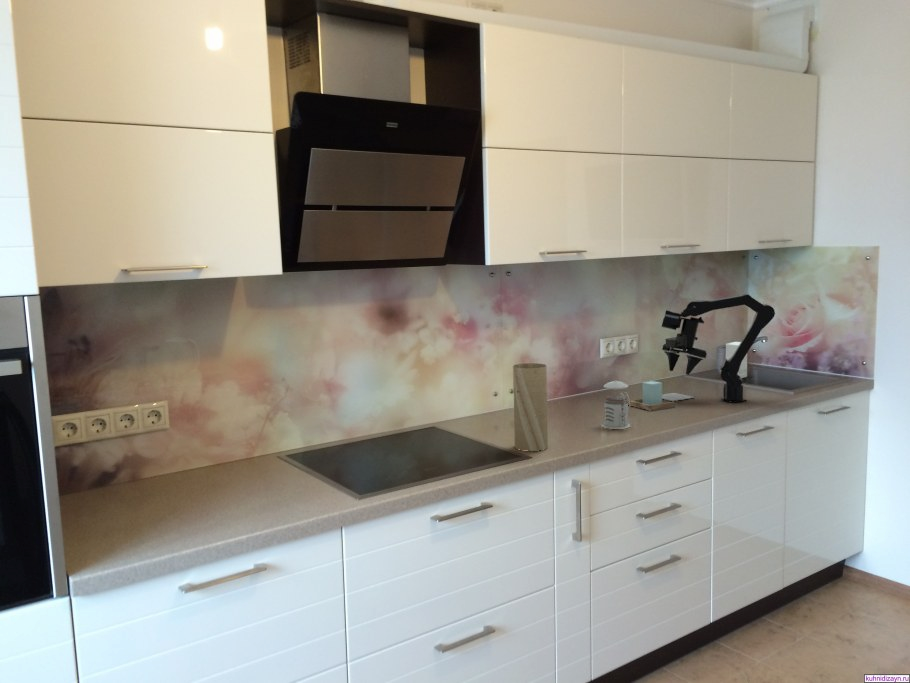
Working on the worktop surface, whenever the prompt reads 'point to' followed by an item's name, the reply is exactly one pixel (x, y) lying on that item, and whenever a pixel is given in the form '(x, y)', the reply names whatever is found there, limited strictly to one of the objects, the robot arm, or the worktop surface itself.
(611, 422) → the french press
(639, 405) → the walnut holder
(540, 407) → the tube
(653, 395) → the grey-teal block
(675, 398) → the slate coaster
